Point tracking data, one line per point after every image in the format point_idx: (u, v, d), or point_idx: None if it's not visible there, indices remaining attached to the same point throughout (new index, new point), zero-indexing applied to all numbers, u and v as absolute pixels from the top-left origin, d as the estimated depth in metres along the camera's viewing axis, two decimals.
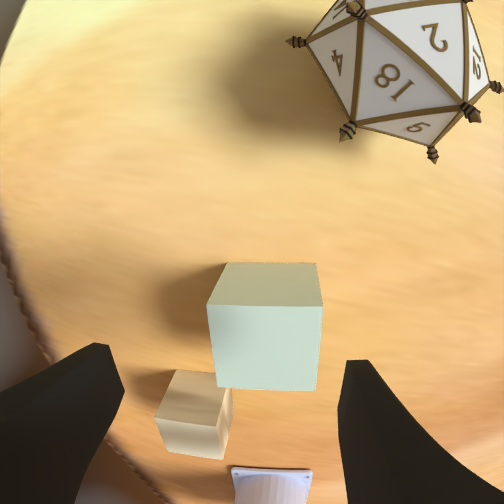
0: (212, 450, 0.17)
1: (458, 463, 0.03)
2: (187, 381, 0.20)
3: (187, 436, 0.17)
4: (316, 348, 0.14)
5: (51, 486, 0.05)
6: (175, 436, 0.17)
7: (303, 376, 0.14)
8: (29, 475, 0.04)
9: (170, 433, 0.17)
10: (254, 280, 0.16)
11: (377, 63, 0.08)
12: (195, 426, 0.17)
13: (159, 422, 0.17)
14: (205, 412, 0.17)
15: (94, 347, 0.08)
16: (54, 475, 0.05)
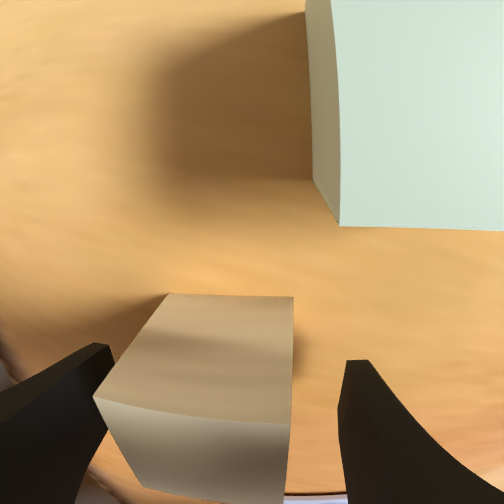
0: (260, 490, 0.06)
1: (458, 463, 0.03)
2: (193, 312, 0.09)
3: (190, 456, 0.06)
4: None
5: (51, 486, 0.05)
6: (157, 455, 0.06)
7: None
8: (29, 475, 0.04)
9: (143, 446, 0.06)
10: None
11: None
12: (219, 429, 0.05)
13: (109, 412, 0.05)
14: (248, 382, 0.06)
15: (94, 347, 0.08)
16: (54, 475, 0.05)
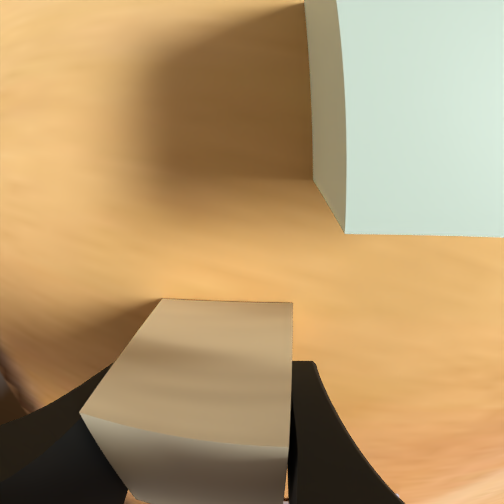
0: None
1: (377, 479, 0.04)
2: (186, 321, 0.08)
3: (182, 474, 0.05)
4: None
5: None
6: (149, 472, 0.05)
7: None
8: (77, 500, 0.04)
9: (133, 463, 0.05)
10: None
11: None
12: (212, 450, 0.05)
13: (97, 429, 0.05)
14: (243, 400, 0.05)
15: None
16: (101, 495, 0.05)
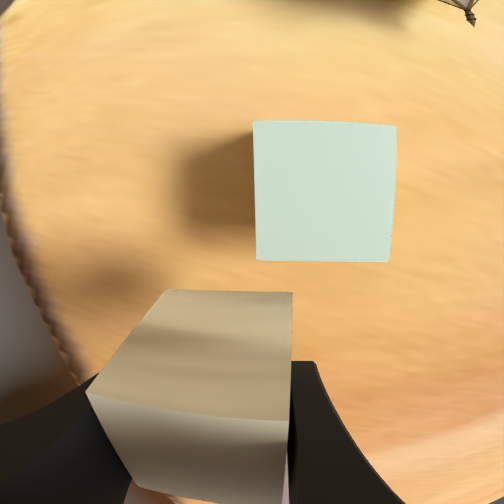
0: (258, 490, 0.06)
1: (377, 479, 0.04)
2: (190, 308, 0.09)
3: (185, 455, 0.05)
4: (391, 187, 0.10)
5: None
6: (151, 453, 0.06)
7: (374, 234, 0.11)
8: (77, 500, 0.04)
9: (137, 444, 0.06)
10: None
11: None
12: (215, 425, 0.05)
13: (102, 409, 0.05)
14: (245, 378, 0.06)
15: None
16: (101, 495, 0.05)
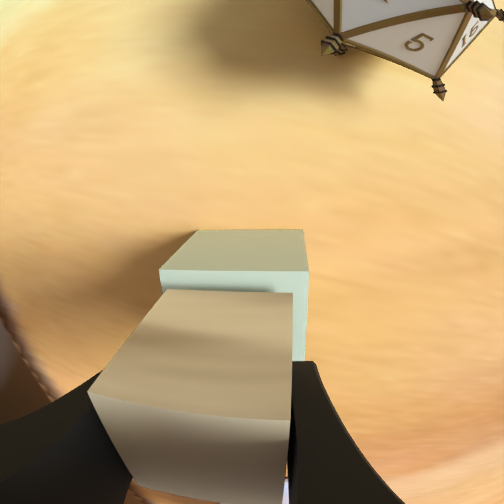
0: (259, 489, 0.06)
1: (377, 479, 0.04)
2: (191, 308, 0.09)
3: (186, 455, 0.05)
4: (301, 330, 0.11)
5: None
6: (153, 453, 0.06)
7: None
8: (77, 500, 0.04)
9: (138, 444, 0.06)
10: (224, 245, 0.13)
11: None
12: (217, 425, 0.05)
13: (104, 409, 0.05)
14: (247, 378, 0.06)
15: None
16: (101, 495, 0.05)
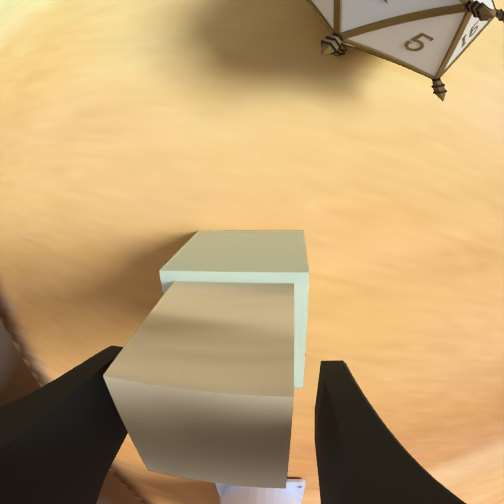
0: (264, 469, 0.06)
1: (423, 472, 0.03)
2: (198, 298, 0.09)
3: (196, 435, 0.06)
4: (302, 331, 0.11)
5: (71, 496, 0.05)
6: (164, 435, 0.06)
7: None
8: (50, 486, 0.04)
9: (150, 426, 0.06)
10: (224, 246, 0.13)
11: None
12: (226, 403, 0.06)
13: (118, 392, 0.06)
14: (252, 360, 0.06)
15: (113, 351, 0.08)
16: (74, 484, 0.05)
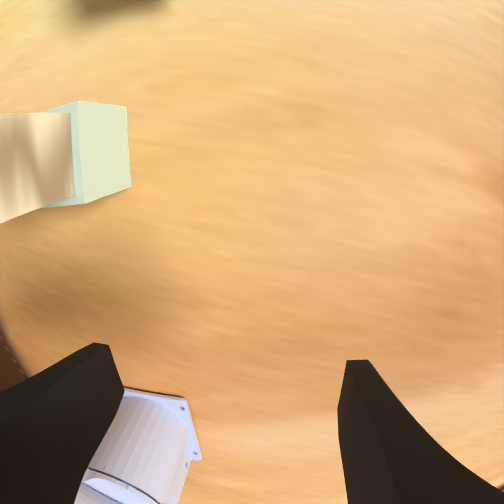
0: None
1: (458, 463, 0.03)
2: None
3: None
4: (76, 146, 0.12)
5: (51, 486, 0.05)
6: None
7: None
8: (29, 475, 0.04)
9: None
10: None
11: None
12: None
13: None
14: None
15: (94, 347, 0.08)
16: (54, 475, 0.05)
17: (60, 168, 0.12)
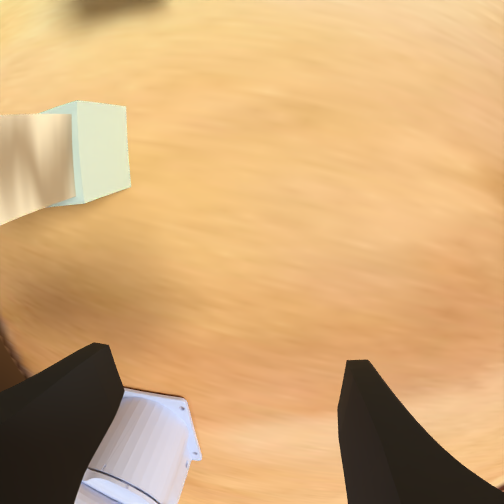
0: None
1: (458, 463, 0.03)
2: None
3: None
4: (76, 146, 0.12)
5: (51, 486, 0.05)
6: None
7: None
8: (29, 475, 0.04)
9: None
10: None
11: None
12: None
13: None
14: None
15: (94, 347, 0.08)
16: (54, 475, 0.05)
17: (60, 169, 0.12)
